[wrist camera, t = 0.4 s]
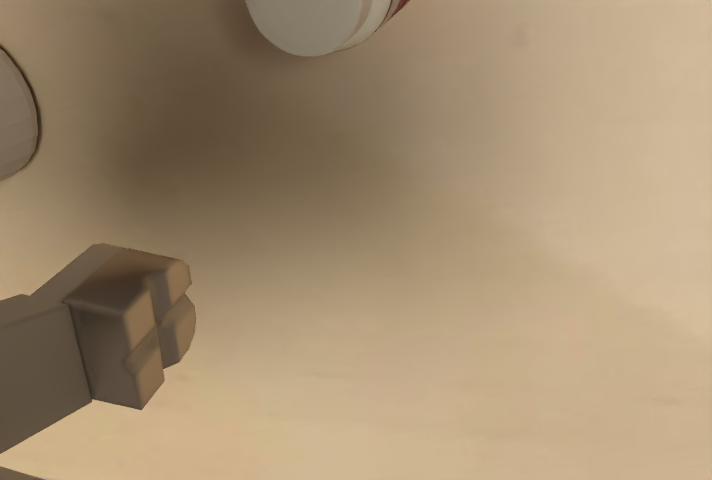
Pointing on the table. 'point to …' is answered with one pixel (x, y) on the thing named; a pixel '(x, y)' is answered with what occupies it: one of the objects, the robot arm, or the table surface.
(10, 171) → the mug
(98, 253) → the robot arm
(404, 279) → the table surface
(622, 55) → the table surface
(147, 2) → the table surface
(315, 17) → the pill bottle
